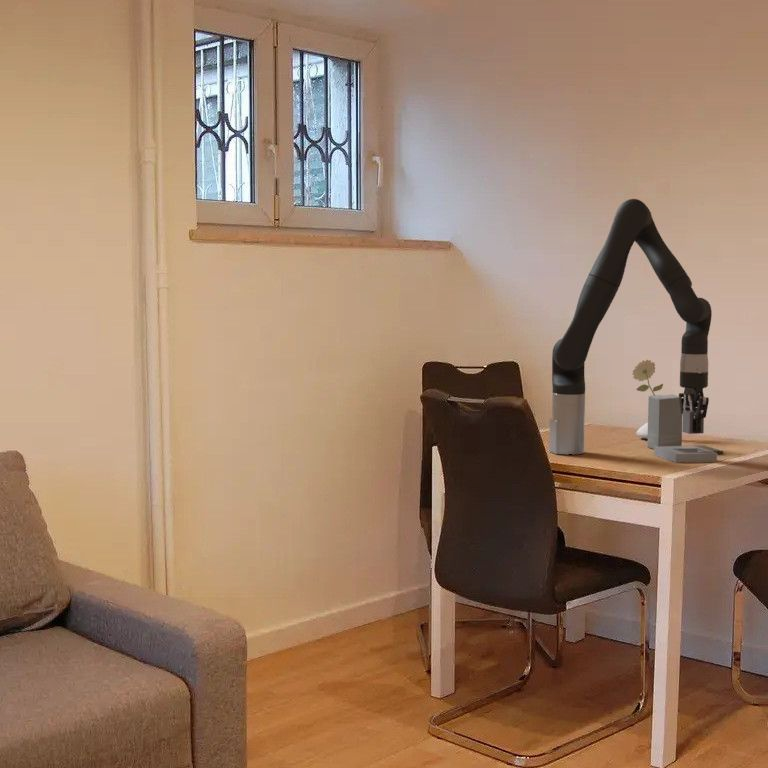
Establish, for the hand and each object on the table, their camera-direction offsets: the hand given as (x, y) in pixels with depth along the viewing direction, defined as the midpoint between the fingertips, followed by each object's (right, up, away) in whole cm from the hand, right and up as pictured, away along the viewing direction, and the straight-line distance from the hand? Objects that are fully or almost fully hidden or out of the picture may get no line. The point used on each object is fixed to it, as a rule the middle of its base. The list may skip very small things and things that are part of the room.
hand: (692, 431), depth 310 cm
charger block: (0, 0, 0) cm, 0 cm away
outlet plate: (-2, -8, +2) cm, 8 cm away
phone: (+7, -6, +15) cm, 18 cm away
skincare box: (-3, -6, +20) cm, 21 cm away
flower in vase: (-2, -4, +41) cm, 41 cm away
